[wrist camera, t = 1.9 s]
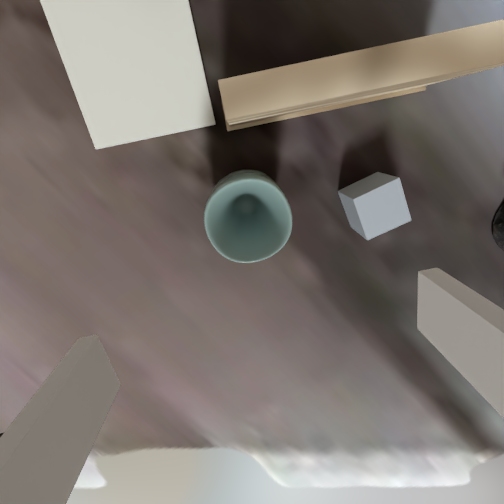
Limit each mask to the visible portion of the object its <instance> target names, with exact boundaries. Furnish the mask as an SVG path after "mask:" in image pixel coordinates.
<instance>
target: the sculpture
mask: <svg viewBox="0 0 504 504" xmlns="http://www.w3.org/2000/svg"><path fill="white" fill-rule="evenodd" d="M493 237H494V239H495V242H496V244H497V245H498V246H499V247H500V248H501V249H502V250H504V203H503V204H502V206H501V207H500V209H499V211H498V212H497V214H496V216H495V220H494V223H493Z"/></svg>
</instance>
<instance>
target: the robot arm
mask: <svg viewBox="0 0 504 504" xmlns="http://www.w3.org/2000/svg"><path fill="white" fill-rule="evenodd" d="M417 329H418V330H419V331H420V332H421V333H422V334H423V335H424V336H425V337H426V338H427V339H428V340H429V341H430V342H431V343H432V344H433V345H434V346H435V347H436V348H437V349H438V350H439V351H440V352H441V354H442V355H443V356H444V357H445V358H446V359H447V360H448V361H449V362H450V363H451V364H452V365H453V366H454V367H455V368H456V369H457V370H458V371H459V372H460V373H461V374H462V375H463V376H464V377H465V378H466V380H467V381H468V382H469V383H470V384H471V385H472V386H473V387H474V388H475V389H476V390H477V391H478V392H479V393H480V394H481V395H482V396H483V397H484V398H485V399H486V400H487V401H488V402H489V403H490V404H491V405H492V407H493V408H494V409H495V410H496V411H497V412H498V413H499V414H500V415H501V416H502V417H503V418H504V310H503V309H502V308H500V307H499V306H497V305H495V304H494V303H492V302H491V301H489V300H488V299H486V298H484V297H483V296H481V295H480V294H478V293H477V292H475V291H473V290H472V289H470V288H469V287H467V286H466V285H464V284H462V283H461V282H459V281H458V280H456V279H455V278H453V277H451V276H450V275H448V274H447V273H445V272H444V271H442V270H440V269H439V268H433V269H428V270H423V271H418V312H417ZM120 386H121V384H120V382H119V380H118V378H117V376H116V373H115V371H114V369H113V367H112V365H111V363H110V361H109V359H108V356H107V354H106V352H105V350H104V348H103V346H102V344H101V342H100V339H99V337H98V335H97V334H96V335H91V336H86V337H81V338H78V340H77V341H76V342H75V343H74V345H73V346H72V347H71V348H70V350H69V351H68V352H67V353H66V355H65V356H64V357H63V359H62V360H61V361H60V362H59V364H58V365H57V366H56V367H55V369H54V370H53V371H52V373H51V374H50V375H49V376H48V378H47V379H46V380H45V381H44V383H43V384H42V385H41V387H40V388H39V389H38V390H37V392H36V393H35V394H34V395H33V397H32V398H31V399H30V400H29V402H28V403H27V404H26V406H25V407H24V408H23V409H22V411H21V412H20V413H19V414H18V416H17V417H16V418H15V420H14V421H13V422H12V423H11V425H10V426H9V427H8V428H7V430H6V431H5V432H4V433H1V434H0V504H66V503H67V500H68V498H69V496H70V494H71V492H72V490H73V487H74V485H75V483H76V481H77V479H78V477H79V475H80V472H81V470H82V468H83V466H84V464H85V462H86V459H87V457H88V455H89V453H90V451H91V449H92V447H93V444H94V442H95V440H96V438H97V436H98V434H99V431H100V429H101V427H102V425H103V423H104V421H105V419H106V416H107V414H108V412H109V410H110V408H111V406H112V403H113V401H114V399H115V397H116V395H117V393H118V391H119V388H120Z"/></svg>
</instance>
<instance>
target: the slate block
mask: <svg viewBox="0 0 504 504" xmlns="http://www.w3.org/2000/svg"><path fill="white" fill-rule="evenodd" d="M338 193H339V196H340V199H341V202H342V204H343V207H344V210H345V212H346V215H347V218H348V221H349V223H350V226H351V228H353V229H354V230H355V231H356V232H358V233H359V234H360V235H361V236H363V237H364V238H365V239H366V240H369V239H371V238H374V237H376V236H378V235H380V234H382V233H385V232H387V231H389V230H391V229H394V228H396V227H398V226H400V225H402V224H405V223H407V222H409V221H411V217H410V213H409V210H408V206H407V203H406V199H405V196H404V192H403V188H402V185H401V181H400V178H399V177H395V176H391V175H388V174H384V173H380V172H376V173H374V174H372V175H370V176H368V177H366V178H364V179H362V180H359V181H357V182H355V183H353V184H351V185H349V186H347V187H345V188H343V189H341V190H339V191H338Z"/></svg>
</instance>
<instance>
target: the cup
mask: <svg viewBox="0 0 504 504" xmlns="http://www.w3.org/2000/svg"><path fill="white" fill-rule="evenodd" d="M204 225H205V230H206V233H207V236H208V238H209V240H210V242H211V244H212V245H213V246H214V248H215V249H216V250H217V251H218V252H219V253H220V254H221V255H222V256H224V257H225V258H227V259H229V260H231V261H235V262H239V263H252V262H257V261H261V260H264V259H266V258H269V257H271V256H272V255H274V254H275V253H277V252H278V251H279V250H280V249H281V248H283V247H284V245H285V244H286V242H287V241H288V239H289V236H290V234H291V230H292V213H291V208H290V205H289V202H288V200H287V197H286V196H285V194H284V193H283V191H282V190H281V188H280V187H279V186H278V185H277V184H276V182H275V181H274V180H273V179H272V178H271V177H269V176H268V175H266V174H265V173H263V172H260V171H257V170H252V169H244V170H238V171H235V172H232V173H230V174H228V175H226V176H225V177H223V178H222V179H221V180H220V181H219V182H218V183H217V184H216V185H215V186H214V188H213V189H212V191H211V193H210V194H209V196H208V199H207V202H206V205H205V209H204Z"/></svg>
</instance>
